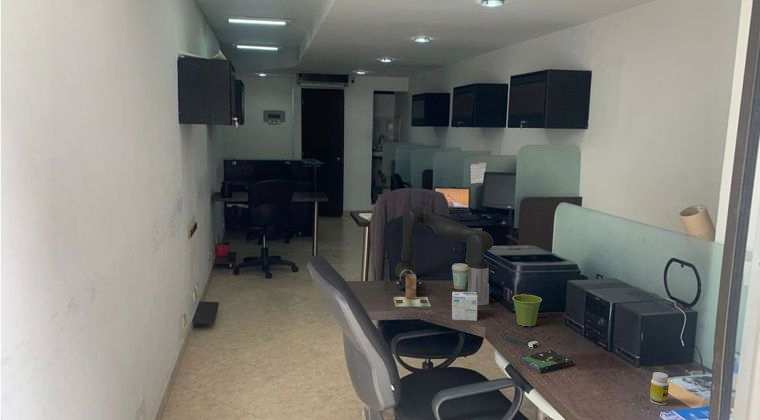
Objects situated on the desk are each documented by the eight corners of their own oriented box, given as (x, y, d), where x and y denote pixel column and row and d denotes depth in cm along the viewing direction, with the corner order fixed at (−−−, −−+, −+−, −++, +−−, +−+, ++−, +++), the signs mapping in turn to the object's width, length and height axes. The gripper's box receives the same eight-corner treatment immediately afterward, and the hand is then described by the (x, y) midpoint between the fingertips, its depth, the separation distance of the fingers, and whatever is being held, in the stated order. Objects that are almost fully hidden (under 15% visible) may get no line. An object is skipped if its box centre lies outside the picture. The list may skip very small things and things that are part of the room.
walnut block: (414, 296, 272) (415, 274, 270) (415, 299, 267) (416, 276, 266) (405, 297, 272) (405, 274, 270) (406, 299, 267) (406, 276, 266)
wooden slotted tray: (427, 299, 273) (427, 296, 272) (430, 309, 258) (430, 306, 257) (393, 299, 272) (393, 296, 272) (394, 309, 257) (394, 306, 257)
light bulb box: (476, 316, 249) (477, 291, 248) (477, 321, 242) (478, 296, 241) (451, 315, 250) (452, 291, 249) (451, 320, 243) (452, 295, 242)
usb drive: (514, 337, 224) (515, 330, 224) (539, 346, 214) (540, 339, 214) (505, 340, 221) (505, 333, 221) (530, 349, 211) (530, 342, 211)
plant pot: (517, 318, 246) (518, 292, 245) (544, 323, 239) (546, 297, 238) (506, 325, 237) (507, 299, 235) (534, 331, 230) (535, 304, 228)
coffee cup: (449, 286, 298) (450, 263, 296) (465, 285, 299) (466, 263, 297) (453, 290, 289) (454, 267, 288) (470, 290, 290) (470, 266, 289)
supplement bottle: (664, 407, 167) (666, 379, 166) (647, 402, 170) (649, 374, 169) (669, 401, 170) (671, 374, 169) (652, 396, 173) (654, 369, 172)
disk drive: (550, 357, 205) (518, 364, 198) (551, 349, 205) (519, 356, 198) (573, 367, 196) (540, 375, 189) (573, 359, 196) (540, 367, 189)
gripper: (394, 270, 289) (396, 279, 272) (420, 270, 289) (424, 279, 272) (394, 285, 290) (396, 294, 273) (420, 285, 290) (424, 294, 273)
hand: (410, 287), depth 272 cm, fingers closed
